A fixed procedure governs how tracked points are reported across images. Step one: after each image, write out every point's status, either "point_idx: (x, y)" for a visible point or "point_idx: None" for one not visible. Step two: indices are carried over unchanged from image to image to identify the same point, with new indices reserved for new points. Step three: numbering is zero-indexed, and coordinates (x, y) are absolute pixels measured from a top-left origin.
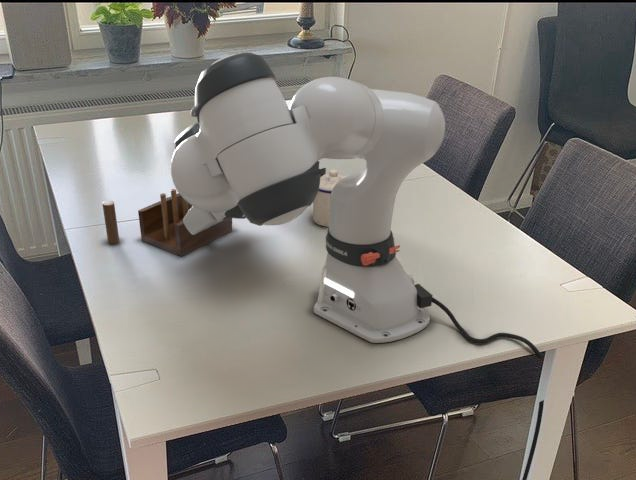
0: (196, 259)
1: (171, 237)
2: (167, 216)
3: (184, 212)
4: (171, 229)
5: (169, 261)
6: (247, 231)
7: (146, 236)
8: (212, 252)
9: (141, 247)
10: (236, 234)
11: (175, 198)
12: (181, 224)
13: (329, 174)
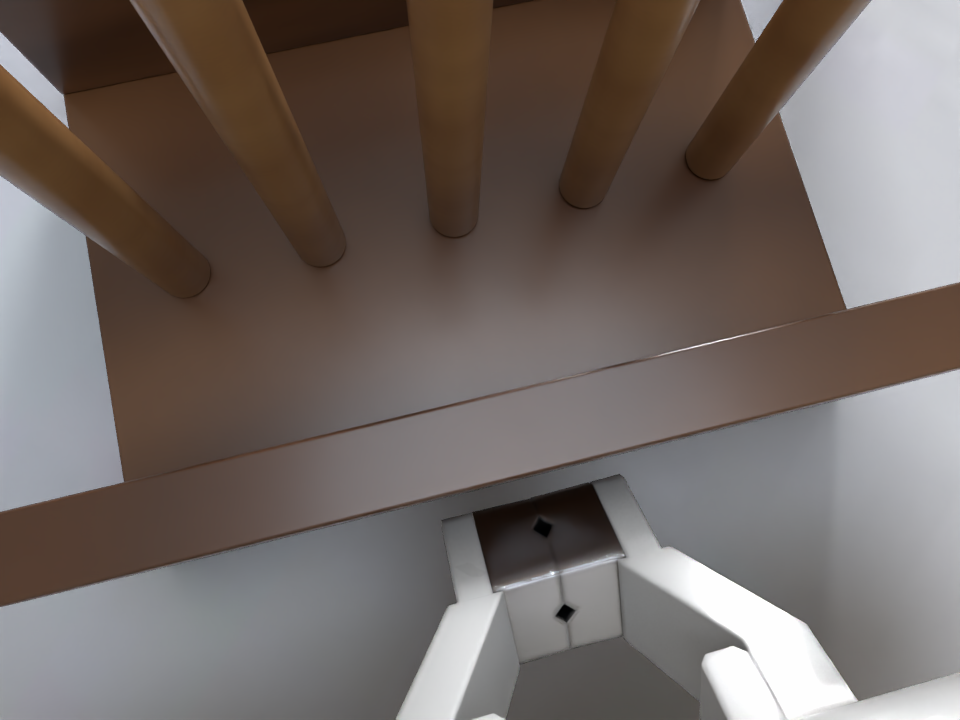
0: (244, 703)
1: (234, 273)
2: (73, 198)
3: (421, 136)
4: (333, 130)
5: None
6: (953, 491)
7: (69, 115)
8: None
9: (12, 190)
10: (833, 482)
11: (178, 28)
12: (17, 600)
13: None
